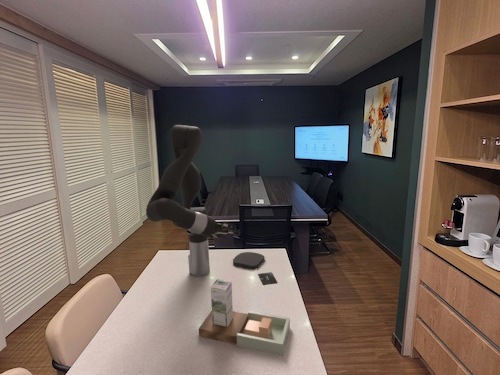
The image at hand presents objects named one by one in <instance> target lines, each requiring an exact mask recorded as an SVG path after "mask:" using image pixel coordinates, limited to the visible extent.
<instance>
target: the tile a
mask: <svg viewBox="0 0 500 375" xmlns="http://www.w3.org/2000/svg"><path fill="white" fill-rule="evenodd" d="M260 323H261V322H258V321H253V320H249V322H248V323H247V325H246V327H245V335H250V336H255V337H259V326H260Z"/></svg>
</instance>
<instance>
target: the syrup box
mask: <svg viewBox="0 0 500 375" xmlns="http://www.w3.org/2000/svg"><path fill="white" fill-rule="evenodd" d="M232 282H233V281H231V280H230V281H229V280H224V279H216V280H214V282H213V283H212V284H211V286H210V300H211V310H212V321H213V325H218V326H223V327H228V325H229V324H230V322H231V320H232V319H233V310H234V309H233V308H234V307H233V284H232Z"/></svg>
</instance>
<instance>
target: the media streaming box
mask: <svg viewBox="0 0 500 375" xmlns="http://www.w3.org/2000/svg"><path fill="white" fill-rule="evenodd" d="M265 258H266V257H265V256H264V254H261V253H258V252H253V251H246V252H244V251H243V252H240V253H239V254H237V255H236V256H234V258H233V259H232V265H233V266H234V267H236V268H237V267H238V268H241V269H247V270H257V269H258V268H260V267H261V266H262V265H263V264H264V262H265Z"/></svg>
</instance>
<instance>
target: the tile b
mask: <svg viewBox="0 0 500 375" xmlns="http://www.w3.org/2000/svg"><path fill="white" fill-rule="evenodd" d="M271 333H272V319H269V318H264V317H263V319H262V321H261V323H260V326H259V337H260V338H265V339H269V338H270V335H271Z"/></svg>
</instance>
